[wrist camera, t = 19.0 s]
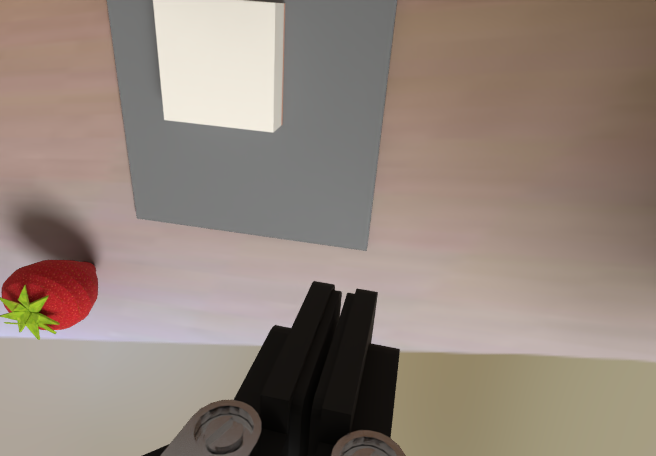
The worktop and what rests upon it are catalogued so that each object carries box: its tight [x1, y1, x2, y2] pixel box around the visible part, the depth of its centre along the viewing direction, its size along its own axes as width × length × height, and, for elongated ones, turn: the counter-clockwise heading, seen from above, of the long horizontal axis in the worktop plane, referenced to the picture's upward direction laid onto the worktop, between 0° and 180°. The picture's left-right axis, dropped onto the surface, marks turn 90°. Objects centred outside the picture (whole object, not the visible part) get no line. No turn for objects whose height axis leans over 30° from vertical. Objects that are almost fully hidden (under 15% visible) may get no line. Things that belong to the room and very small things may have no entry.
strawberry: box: [0, 260, 98, 340], centre depth 38 cm, size 6×8×10 cm
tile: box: [153, 0, 285, 133], centre depth 31 cm, size 2×8×8 cm
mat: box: [107, 0, 397, 251], centre depth 32 cm, size 20×26×1 cm
